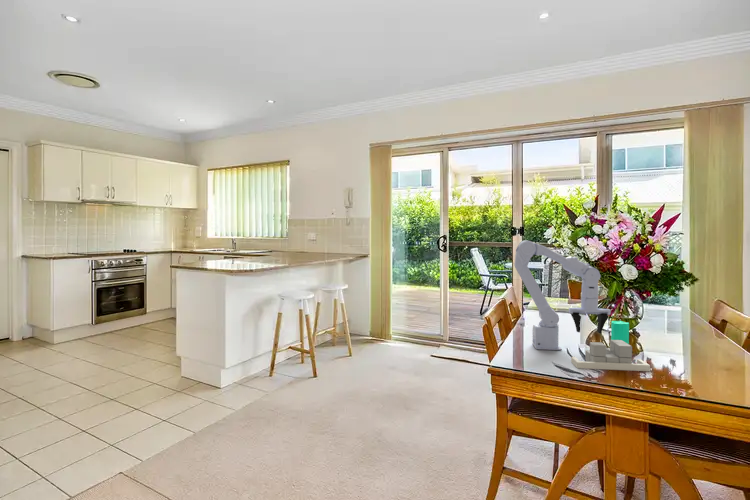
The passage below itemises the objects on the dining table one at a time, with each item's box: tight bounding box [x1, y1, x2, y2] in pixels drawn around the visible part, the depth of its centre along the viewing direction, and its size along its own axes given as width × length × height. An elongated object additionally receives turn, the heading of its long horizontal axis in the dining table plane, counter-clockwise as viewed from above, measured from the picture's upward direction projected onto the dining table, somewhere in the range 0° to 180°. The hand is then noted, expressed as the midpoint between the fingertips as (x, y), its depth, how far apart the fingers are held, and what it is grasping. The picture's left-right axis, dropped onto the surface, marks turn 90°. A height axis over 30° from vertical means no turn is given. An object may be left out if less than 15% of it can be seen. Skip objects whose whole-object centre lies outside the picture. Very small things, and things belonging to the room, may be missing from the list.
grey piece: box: [570, 356, 651, 372], centre depth 136 cm, size 22×6×2 cm, turn 80°
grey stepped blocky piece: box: [584, 339, 633, 363], centre depth 140 cm, size 12×12×8 cm
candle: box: [610, 320, 630, 345], centre depth 156 cm, size 6×6×12 cm
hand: (588, 332), depth 155 cm, fingers open, 7 cm apart
